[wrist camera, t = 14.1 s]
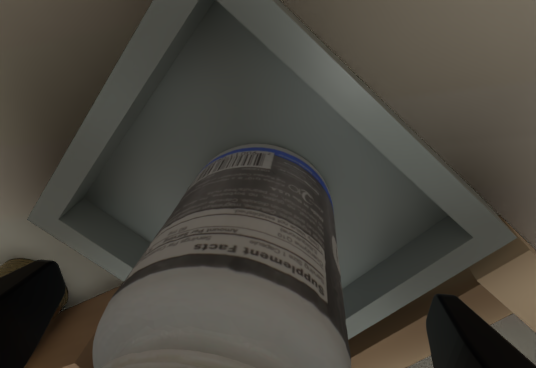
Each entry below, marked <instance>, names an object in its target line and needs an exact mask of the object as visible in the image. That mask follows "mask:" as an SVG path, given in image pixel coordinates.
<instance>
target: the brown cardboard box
mask: <svg viewBox="0 0 536 368" xmlns="http://www.w3.org/2000/svg"><path fill="white" fill-rule="evenodd" d="M119 287H120V286H119ZM119 287H117V288H114V289H112V290H110V291H108V292H105V293H103V294H101V295H98V296H96V297H94V298H92V299H89V300H87V301H85V302H82V303H80V304H78V305H76V306H73V307H71V308H69V309H66V310H64V311H62V312H60V313H58V314H57V315H56V316H55V317H54V319H53V320H52V321H51V322H50V324H49V325H48V327H47V329H46V330H45V332H44V334H43V336H42V338H41V340H40V342H39V344H38V345H37V347H36V349H35V351H34V352H33V354H32V356H31V357H30V359H29V361H28V362H27V364H26V365H25V367H24V368H94V367H93V352H92V351H93V341H94V336H95V333H96V330H97V326H98V324H99V321H100V319H101V317H102V315H103V313H104V311H105V309H106V307H107V305H108V303H109V301H110V300H111V298H112V296H113V295H114V293H115V292H116V291H117V290H118V288H119Z"/></svg>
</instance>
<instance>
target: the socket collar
mask: <svg viewBox="0 0 536 368" xmlns="http://www.w3.org/2000/svg"><path fill="white" fill-rule="evenodd" d="M499 218H500V219H501V220H502V221H503V222H504V223H505V224H506V226H507V227H508V228H509V229H510V230H511V231H512V232H513V234H514V235H515V236H516V237H517V238H516V239H514V240H513V241H511V242H510V243H508V244H506V245H505V246H503V247H501V248H500V249H498V250H496V251H495V252H493V253H491V254H490V255H488V256H486V257H485V258H483V259H481V260H480V261H478V262H476V263H475V264H473V265H471V266H470V267H468V268H466V269H465V270H463V271H461V272H460V273H458V274H456V275H455V276H453V277H452V278H450V279H448V280H447V281H445V282H443V283H442V284H440V285H438V286H437V287H435V288H433V289H432V290H430V291H428V292H427V293H425V294H423V295H422V296H420V297H418V298H417V299H415V300H413V301H412V302H410V303H408V304H407V305H405V306H403V307H402V308H400V309H398V310H397V311H395V312H394V313H392V314H390V315H389V316H387V317H385V318H384V319H382V320H380V321H379V322H377V323H375V324H374V325H372V326H370V327H369V328H367V329H365V330H364V331H362V332H360V333H359V334H357V335H355V336H354V337H352V338H350V339H349V340H348V343H349V348H350V353H351V368H406V367H408V366H410V365H412V364H414V363H416V362H418V361H420V360H422V359H424V358H426V357H428V356H430V355H431V351H430V346H429V341H428V336H427V331H426V318H427V315H428V312H429V309H430V305H431V302H432V299H433V297H434V295H435V294H450V295H455V296H457V297H458V298H459V299H461V300H462V301H463V302H464V303H465V304H466V305H467V306H469V307H470V308H471V309H472V310H473V311H474V312H475V313H477V314H478V315H479V316H480V317H481V318H482V319H483V320H484V321H486V322H487V323H488V324H489V325H491V324H493V323H495V322H497V321H499V320H501V319H503V318H505V317H507V316H509V315H511V314H513V313H514V314H515V315H516V316H517V317H518V318H520V319H521V320H522V321H523V322H524V323H525V324H526V325H528V326H529V327H530V328H531V329H532V330H533V331H534V332H535V333H536V250H535V249H534V248H533V247H532V246H531V245H530V244H529V243H528V242H526V241H525V240H524V239H523V238H522V237H521V236H520V235H519V234H518V233H517V232H516V231H515V230H514V229H513V228H512V227H511V226H510V225H509V224H508V223H507V222H506V221H505V220H504V219H503V218H502V217H501V216H499Z"/></svg>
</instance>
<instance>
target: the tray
mask: <svg viewBox="0 0 536 368" xmlns="http://www.w3.org/2000/svg"><path fill="white" fill-rule="evenodd" d="M246 144H269V145H274V146H278V147H281V148H284V149H287V150H289V151H291V152H293V153H295V154H297V155H299V156H301V157H302V158H304V159H305V160H307V161H308V162H309V163H310V164H311V165H313V166H314V167H315V168H316V169H317V171H318V172H319V173H320V174H321V176H322V177H323V179H324V181H325V183H326V185H327V187H328V189H329V191H330V195H331V198H332V203H333V211H334V221H335V229H336V241H337V249H338V258H339V265H340V272H341V285H342V291H343V300H344V309H345V316H346V327H347V334H348V340H349V339H350V338H352V337H354V336H355V335H357V334H359V333H360V332H362V331H364V330H365V329H367V328H369V327H370V326H372V325H374V324H375V323H377V322H379V321H380V320H382V319H384V318H385V317H387V316H389V315H390V314H392V313H394V312H395V311H397V310H398V309H400V308H402V307H403V306H405V305H407V304H408V303H410V302H412V301H413V300H415V299H417V298H418V297H420V296H422V295H423V294H425V293H427V292H428V291H430V290H432V289H433V288H435V287H437V286H438V285H440V284H442V283H443V282H445V281H447V280H448V279H450V278H452V277H453V276H455V275H456V274H458V273H460V272H461V271H463V270H465V269H466V268H468V267H470V266H471V265H473V264H475V263H476V262H478V261H480V260H481V259H483V258H485V257H486V256H488V255H490V254H491V253H493V252H495V251H496V250H498V249H500V248H501V247H503V246H505V245H506V244H508V243H510V242H511V241H513V240H514V239H516V238H517V237H516V236H515V235H514V234H513V232H512V231H511V230H510V229H509V228H508V227H507V226H506V224H505V223H504V222H503V221H502V220H501V219H500V218H499V216H498V215H497V214H496V213H495V212H494V211H493V210H492V208H491V207H490V206H489V205H488V204H487V203H486V202H485V201H484V200H483V199H482V198H481V197H480V196H479V195H478V194H477V193H476V192H475V191H474V190H473V189H472V188H471V187H470V186H469V185H468V184H467V183H466V182H465V181H464V180H463V179H462V178H461V177H460V176H459V175H458V174H457V173H456V172H455V171H454V170H453V169H452V168H451V167H450V166H449V165H448V164H447V163H446V162H445V161H444V160H442V159H441V158H440V157H439V156H438V155H437V154H436V153H435V152H434V151H433V150H432V149H431V148H430V147H429V146H428V145H427V144H426V143H425V142H424V141H423V140H422V139H421V138H420V137H419V136H418V135H417V134H416V133H415V132H414V131H413V130H412V129H411V128H410V127H409V126H408V125H407V124H406V123H405V122H404V121H403V120H402V119H400V118H399V117H398V116H397V115H396V114H395V113H394V112H393V111H392V110H391V109H390V108H389V107H388V106H387V105H386V104H385V103H384V102H383V101H382V100H381V99H380V98H379V97H378V96H377V95H376V94H375V93H374V92H373V91H372V90H371V89H370V88H369V87H368V86H367V85H366V84H365V83H364V82H363V81H362V80H361V79H360V78H358V77H357V76H356V75H355V74H354V73H353V72H352V71H351V70H350V69H349V68H348V67H347V66H346V65H345V64H344V63H343V62H342V61H341V60H340V59H339V58H338V57H337V56H336V55H335V54H334V53H333V52H332V51H331V50H330V49H329V48H328V47H327V46H326V45H325V44H324V43H323V42H322V41H321V40H320V39H319V38H318V37H316V36H315V35H314V34H313V33H312V32H311V31H310V30H309V29H308V28H307V27H306V26H305V25H304V24H303V23H302V22H301V21H300V20H299V19H298V18H297V17H296V16H295V15H294V14H293V13H292V12H291V11H290V10H289V9H288V8H287V7H286V6H285V5H284V4H283V3H282V2H281V1H280V0H153V1H152V3H151V5H150V6H149V8H148V10H147V12H146V13H145V15H144V17H143V19H142V20H141V22H140V24H139V26H138V27H137V29H136V31H135V33H134V34H133V36H132V38H131V40H130V41H129V43H128V45H127V46H126V48H125V50H124V52H123V53H122V55H121V57H120V59H119V60H118V62H117V64H116V66H115V67H114V69H113V71H112V73H111V74H110V76H109V78H108V79H107V81H106V83H105V85H104V86H103V88H102V90H101V92H100V93H99V95H98V97H97V99H96V100H95V102H94V104H93V106H92V107H91V109H90V111H89V113H88V114H87V116H86V118H85V119H84V121H83V123H82V125H81V126H80V128H79V130H78V132H77V133H76V135H75V137H74V139H73V140H72V142H71V144H70V146H69V147H68V149H67V151H66V152H65V154H64V156H63V158H62V159H61V161H60V163H59V165H58V166H57V168H56V170H55V172H54V173H53V175H52V177H51V179H50V180H49V182H48V184H47V186H46V187H45V189H44V191H43V192H42V194H41V196H40V198H39V199H38V201H37V203H36V205H35V206H34V208H33V210H32V212H31V213H30V215H29V217H28V219H27V220H28V221H30V222H31V223H33V224H35V225H36V226H38V227H39V228H41V229H42V230H44V231H46V232H47V233H49V234H50V235H52V236H53V237H55V238H56V239H58V240H60V241H61V242H63V243H64V244H66V245H67V246H69V247H71V248H72V249H74V250H75V251H77V252H78V253H80V254H81V255H83V256H85V257H86V258H88V259H89V260H91V261H92V262H94V263H96V264H97V265H99V266H100V267H102V268H103V269H105V270H106V271H108V272H110V273H111V274H113V275H114V276H116V277H117V278H119V279H121V280H122V281H125V280H126V278H127V276H128V275H129V274H130V272H131V271H132V270H133V268H134V267H135V265H136V264H137V262H138V261H139V260H140V258H141V257H142V256H143V254H144V252H145V251H146V250H147V248H148V247H149V245H150V244H151V243H152V241H153V240H154V238H155V236H156V235H157V233H158V232H159V231H160V229H161V228H162V227H163V226H164V224H165V222H166V221H167V219H168V218H169V217H170V215H171V214H172V212H173V211H174V209H175V208H176V206H177V205H178V203H179V202H180V200H181V199H182V197H183V196H184V194H185V193H186V191H187V189H188V187H189V186H190V185H191V184H192V182H193V181H194V180H195V178H196V177H197V176H198V174H199V173H200V172H201V171H202V169H203V168H204V167H205V166H206V165H207V164H208V163H209V162H210V161H211V160H212V159H213V158H214V157H216V156H217V155H219V154H220V153H222V152H224V151H226V150H228V149H231V148H234V147H237V146H241V145H246Z"/></svg>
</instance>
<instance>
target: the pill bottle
mask: <svg viewBox="0 0 536 368" xmlns="http://www.w3.org/2000/svg"><path fill="white" fill-rule="evenodd" d="M92 352H93V367H94V368H351V353H350V348H349V343H348V334H347V327H346V316H345V309H344V300H343V291H342V285H341V272H340V265H339V258H338V249H337V241H336V229H335V221H334V211H333V203H332V198H331V195H330V191H329V189H328V187H327V185H326V183H325V181H324V179H323V177H322V176H321V174H320V173H319V172H318V171H317V169H316V168H315V167H314V166H313V165H311V164H310V163H309V162H308V161H307V160H305V159H304V158H302V157H301V156H299V155H297V154H295V153H293V152H291V151H289V150H287V149H284V148H281V147H278V146H274V145H269V144H246V145H241V146H237V147H234V148H231V149H228V150H226V151H224V152H222V153H220V154H219V155H217V156H216V157H214V158H213V159H212V160H211V161H210V162H209V163H208V164H207V165H206V166H205V167H204V168H203V169H202V171H201V172H200V173H199V174H198V176H197V177H196V178H195V180H194V181H193V182H192V184H191V185H190V186H189V187H188V189H187V191H186V193H185V194H184V196H183V197H182V199H181V200H180V202H179V203H178V205H177V206H176V208H175V209H174V211H173V212H172V214H171V215H170V217H169V218H168V219H167V221H166V222H165V224H164V226H163V227H162V228H161V229H160V231H159V232H158V233H157V235H156V236H155V238H154V240H153V241H152V243H151V244H150V245H149V247H148V248H147V250H146V251H145V252H144V254H143V256H142V257H141V258H140V260H139V261H138V262H137V264H136V265H135V267H134V268H133V270H132V271H131V272H130V274H129V275H128V276H127V278H126V280H125V281H124V282H123V284H122V285H121V286H120V287H119V288H118V290H117V291H116V292H115V293H114V295H113V296H112V298H111V300H110V301H109V303H108V305H107V307H106V309H105V311H104V313H103V315H102V317H101V319H100V321H99V324H98V326H97V330H96V333H95V336H94V341H93V351H92Z"/></svg>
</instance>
